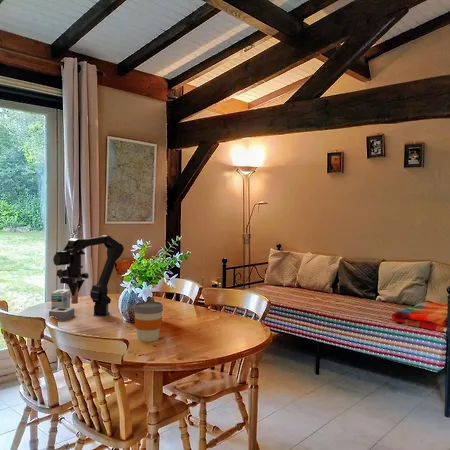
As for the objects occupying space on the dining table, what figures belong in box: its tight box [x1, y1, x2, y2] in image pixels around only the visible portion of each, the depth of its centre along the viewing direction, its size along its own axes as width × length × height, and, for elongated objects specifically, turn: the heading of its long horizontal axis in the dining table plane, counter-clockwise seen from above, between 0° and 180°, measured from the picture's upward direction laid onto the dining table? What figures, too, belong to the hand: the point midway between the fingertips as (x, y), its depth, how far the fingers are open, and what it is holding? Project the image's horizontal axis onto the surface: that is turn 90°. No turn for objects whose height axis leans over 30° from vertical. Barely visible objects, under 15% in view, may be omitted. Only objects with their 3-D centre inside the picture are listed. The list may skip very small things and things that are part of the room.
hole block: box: [48, 307, 75, 321], centre depth 223 cm, size 9×9×4 cm
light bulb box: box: [50, 288, 71, 310], centre depth 238 cm, size 11×7×11 cm, turn 179°
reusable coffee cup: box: [133, 301, 164, 343], centre depth 190 cm, size 13×13×15 cm
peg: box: [70, 286, 79, 305], centre depth 217 cm, size 3×3×10 cm
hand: (74, 295), depth 217 cm, fingers closed on peg, 3 cm apart
